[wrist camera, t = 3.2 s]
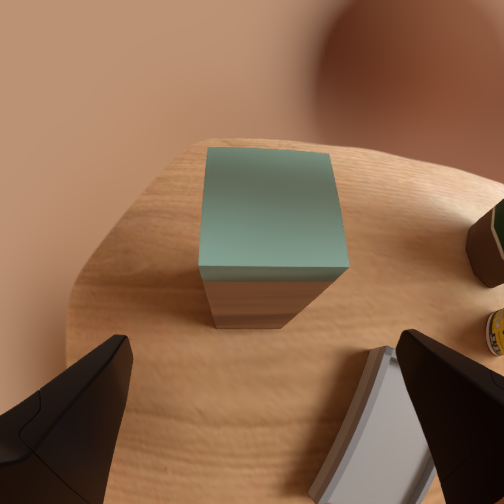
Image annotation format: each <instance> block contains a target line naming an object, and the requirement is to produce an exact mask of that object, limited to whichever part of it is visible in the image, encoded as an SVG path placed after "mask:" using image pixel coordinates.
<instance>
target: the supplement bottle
mask: <svg viewBox="0 0 504 504" xmlns="http://www.w3.org/2000/svg"><path fill="white" fill-rule="evenodd" d="M486 340H487V344H488V347H489V349H490V351H491V352H492V353H493V354H495V355H497V356H501V355H504V308H503V309H500V310H498V311H495V312H493V313H492V314H491V315H490V317H489V319H488V322H487V326H486Z"/></svg>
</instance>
